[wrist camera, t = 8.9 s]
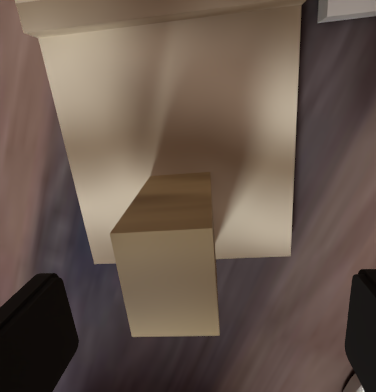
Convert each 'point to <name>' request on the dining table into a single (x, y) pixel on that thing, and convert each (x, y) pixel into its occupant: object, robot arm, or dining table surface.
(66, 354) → the robot arm
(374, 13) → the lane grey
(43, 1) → the beige frame tray
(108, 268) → the dining table surface
